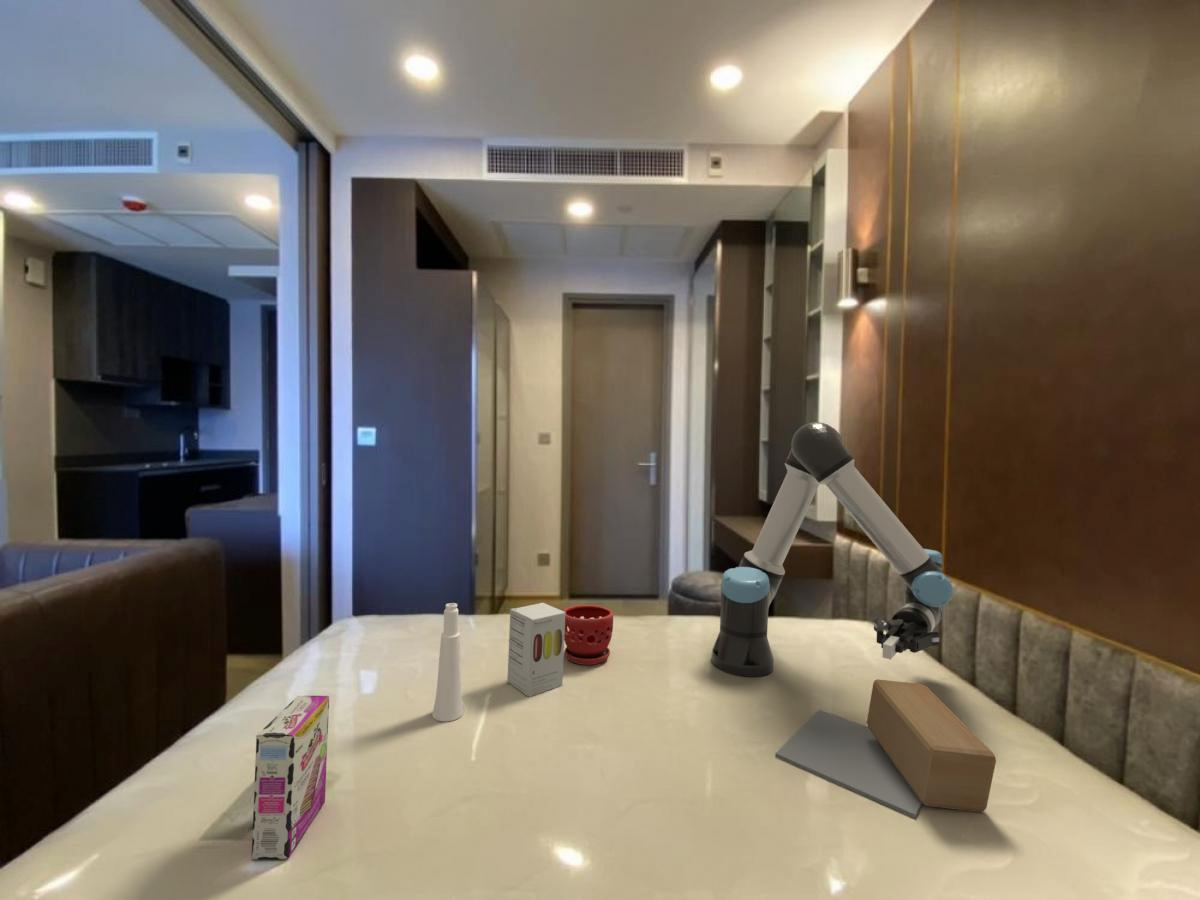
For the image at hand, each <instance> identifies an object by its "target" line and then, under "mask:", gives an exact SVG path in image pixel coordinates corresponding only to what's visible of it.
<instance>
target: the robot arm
mask: <svg viewBox="0 0 1200 900" xmlns="http://www.w3.org/2000/svg"><path fill="white" fill-rule="evenodd" d="M784 466H785V468H786V474H785V477H784V479H783V480H782V481H783V482H782V484H781V486H780V488H779V489H778V492H777V494H776V496H775V499H774V500H773V503H772V506H771V508H770V510H769V512H768V514H767V517H766V519H765V521H764V523H763V526H762V528H761V530H760V532H759V535H758V536H757V539H756V542H755V544H754V545H753V548H752V550H751V549H750V550H749V551H746V552H744V554H743V556H742V558H741V560H740V563H739V565H738V566H736V567H734V568H733V567H732V568H728V569H727V570H725V571H724V572H723V574H722V578H721V582H720V589H721V590H720V591H721V592H720V613H719V615H720V616H719V618H720V619H719V621H720V623H719V632H718V634H717V637H716V639H715V642H714V645H713V648H712V652H711V662H712V664H713V666H715V667H716V668H718V669H719V670H722V671H723V672H727V673H729V674H731V675H737V676H743V677H763V676H766V674H767V675H769V674H770V672H771V673H772V672H773V671H772V670H774V656H773V653H772V649H771V645H770V642H769V639H768V625H769V623H768V622H769V608H770V605H771V603H772V601H773V600H774V599H775V597H776V595H777V593H778V591H779V587H780V585H781V583H782V580H783V578H784V576H785V573H786V570H785V568H784V566H783V565H784V562H785V559H787V555H788V554H789V551H790V549H791V546H792V544H793V543H794V540H795V538H796V536H797V533H798V531H799V530H800V527H801V525H802V524H803V521H804V519H805V517H806V514H807V512H808V510H809V508H810V506H811V504H812V502H813V499H814V498H815V495H816V493H817V490H818V488H819V486H820V485H825V486H826V487H828V489H829V491H830V492H831V493H832V494H833V496H835V498H836V499H837V500H838V501H839V503H840V504H841V505H842V506H843V508H844V509H845V510H846V511H847V512H848V513H849V515H850V516H851V517H852V519H854V521H855V522H856V524H858V526H859V527H860V528H861V530H862V531H863V532H864V533H865V534H866V536H867V537H868V538H869V539H870V540H871V542H872V543H873V544H874V545H875V546H876V548H877V549H878V550H879V552H880V553H881V554H882V556H884V558H885V559H886V560H887V562H889V564H890V566H892V567H893V569H894V570H895V572H896V573H897V574H898V575H899V576H900V578H901V579H902V581H904V585H905V586H904V601H903V602H904V603H903V606H902V607H901V608H900V609H898V610H897V611H896V612H895V613H894V614H893V616H892V617H891V619H888V620H886V621H884V620H881V619H880V618H876V617H874V619H873V620H874V621H873V630H874V631H875V632H876V644H878V645H880V648H881V649H882V658H883V659H887V660H892V659H893V658H894V657H895V656H896V655H897V653H898V654H903V652H906V650H909V652H910V653H919V652H921V651H923V650H925V649H928V648H931V647H936V646H939V645H940V633H939V632H938V631H933V630H934V629H935V628H936V627H937V626H938V625H939V624H940V622H941V621H942V617H943V608H942V607H943V606H946V605H947V604H948V603H949V602H951V600H952V599H953V596H954V588H953V584H952V581H951V580H950V578H949V577H948V576H947V575H946V574H945V573H944V571H943V566H944V563H943V554H942V553H941V552H940V551H938V550H933V549H928V548H923V546H922V545H921V544H920V543H919V542H918V541H917V539H916V538H915V537H914V536H913V535H912V534H911V532H909V530H908V529H907V528H906V527H905V526H904V524H903V523H902V522H901V521H900V519H899V518H898V517H897V516H896V514H895V513H894V512H893V511H892V510H891V509H890V507H889V506H888V505H887V504H886V502H885V501H884V500H883V499H882V498H881V497H880V496H879V494H878V493H877V492H876V491H875V489H874V488H873V487H872V486H871V485H870V483H869V482H868V481H867V480H866V478H865V477H864V476H863V475H862V474H861V473H860V471H859V470H858V469H857V468H856V467H855V458H854V457H853V456H852V455H851V454H850V453H849V451H848V450H847V448H846V447H845V445H844V442H843V438H842V436H841V434H840V433H839V432H838V430H837V429H836V428H834V427H832V426H831V425H829V424H826V423H824V422H821V421H819V422H817V421H816V422H815V421H814V422H809V423H806V424H804V425H802V426H800V427H799V428H798V429H797V430H796V431H795V433H794V434H793V437H792V439H791V449H790V451H789V453H788V456H787V458H786V459H785V462H784ZM885 630H887V632H886V633H884V631H885Z"/></svg>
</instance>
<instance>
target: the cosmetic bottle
mask: <svg viewBox="0 0 1200 900" xmlns="http://www.w3.org/2000/svg"><path fill="white" fill-rule="evenodd" d="M457 607H458V603H455V602H451V603H446V604H445V609H444V610H443V632H442V633H441V635H440V643H439V645H440V646H439V657H438V669H437V683H436V692H435V693H436V694H435V699H434V705H433V710H432V717H433V719H434V720H436V721H438V722H441V723H442V722H445V723H446V722H453V721H456V720H458V719H460V718H461V717H463V715H464V713H465V710H464V703H463V701H464V700H463V692H462V672H461V671H462V670H461V669H462V667H461V663H462V662H461V659H462V658H461V633H460V631H459V609H458V608H457Z"/></svg>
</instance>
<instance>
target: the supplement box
mask: <svg viewBox="0 0 1200 900" xmlns="http://www.w3.org/2000/svg"><path fill="white" fill-rule="evenodd" d="M509 611H510V612H509V629H508V630H509V632H508V633H509V634H508V635H509V636H508V655H507V656H508V657H507V658H508V659H507V678H506V679H507V683H509V684H510V685H512V686H513V687H515V688H516V689H517V690H519V692H521V693H523V694H525V695H526V696H527V697H529V698H530V697H532V696H536V695H539V694H542V693H544V692H547V691H550V690H553V689H556V688H560V687H562V686H563V680H564V679H563V677H564V676H563V675H564V656H565V641H564V634H565V612H563V611H564V610H561V609H559V608H556V607H554V606H552V605H550V604H547V603H546V602H539V603H535V604H530V605H526V606H521V607H516V608H510V610H509Z"/></svg>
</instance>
